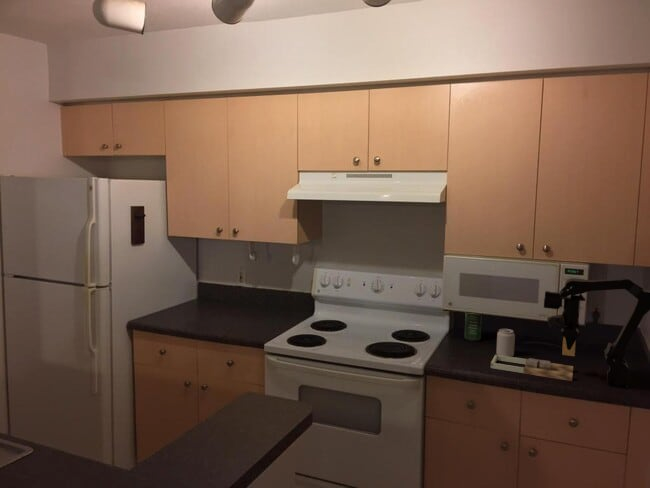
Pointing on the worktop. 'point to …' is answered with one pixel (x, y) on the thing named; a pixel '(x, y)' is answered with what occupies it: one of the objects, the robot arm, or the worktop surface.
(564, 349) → the yellow wooden block
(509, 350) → the can
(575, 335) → the robot arm
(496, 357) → the tray
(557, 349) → the worktop surface
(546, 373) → the slot board
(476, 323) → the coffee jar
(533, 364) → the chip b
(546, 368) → the chip
